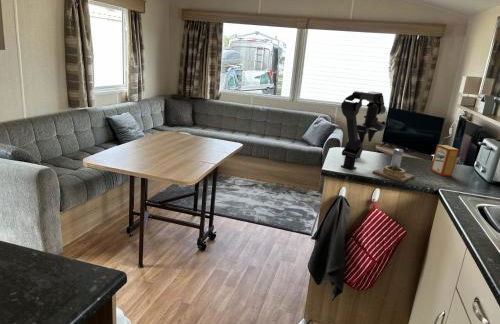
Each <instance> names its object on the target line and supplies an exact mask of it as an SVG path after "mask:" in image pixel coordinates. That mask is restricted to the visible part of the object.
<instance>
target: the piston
mask: <svg viewBox="0 0 500 324" xmlns="http://www.w3.org/2000/svg"><path fill="white" fill-rule="evenodd" d="M403 155H404V149H402V148H394V149H393V153H392V157H391V162H390V165H389V166H390V169H391V170H394V171H399V168H401V162H402V158H403Z"/></svg>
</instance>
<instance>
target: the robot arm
mask: <svg viewBox="0 0 500 324" xmlns="http://www.w3.org/2000/svg"><path fill="white" fill-rule="evenodd" d="M355 100H359V101H355ZM363 101H367V102H368V103H367V104H366V107H367V108H366V114H365V115H364V117H363V118H364V122H363V123H362V124H358V123H357V115H358V114H359V113H360V109H361V108H362V106H363ZM340 109H341V113H342V115H343V116H344V117H345V119H346V128H347V129H346V130H347V142H346V143H345V146H344V147H343V149H342V152H341V156H344V161H343V164H341V165H340V167H342V168H344V169H347V170H350V171H351V170H356V169H357V168H358V167H356V166H355V164H356V160H358V159H360V158H361V156H362V154H363V149H364V148H363V146H364V145H363V143H364V142H365V137H366V135H367V139H368V142H371V141H372V139H373V138H374V136H375V135H376V134H377V132H381V131H384V129H386V128H387V122H386V121H385V120H383V121H379V118H378V116H379V115H384V114H385V113H386V111H387V109H386V106H385V98H384V95H383V92H378V91H371V90H370V91H367V92H366V91H365V92H363V91H359V90H356V91H355V90H354V91H353V92H352V93H351V94H350V95H348V96H347V97H345V99H344V100H343V101H342V102H341V104H340ZM358 135H359V138H360V140H359V139H358ZM348 152H349V153H348ZM351 153H352V154H351ZM354 154H355V155H354Z"/></svg>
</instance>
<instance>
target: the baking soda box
mask: <svg viewBox="0 0 500 324" xmlns="http://www.w3.org/2000/svg"><path fill="white" fill-rule="evenodd" d="M459 151H460V150H459V149H458V148H455V147H453V146H450V145H447V144H436V148H435V151H434V155H433V159H432V163H431V166H430V171H431V172H433V173H435V174H437V175H439V176H442V177H452V176H453V171H454V168H455V165H456V163H457V162H456V161H457V158H458V155H459Z"/></svg>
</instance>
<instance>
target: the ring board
mask: <svg viewBox="0 0 500 324" xmlns="http://www.w3.org/2000/svg"><path fill="white" fill-rule="evenodd" d="M371 173H372V174H374V175H377V176H380V177H383V178H385V179H386V178H387V179H389V180H393V181H396V182H398V183H404V182H406V181H409V180H412V179H414V178H415V175H414V174H410V173H407V172H406V169H403V168H401V167H399V171H394V170H391V169H390V165H385V166H383V167H381V168H378V169H375V170H372V171H371Z"/></svg>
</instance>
